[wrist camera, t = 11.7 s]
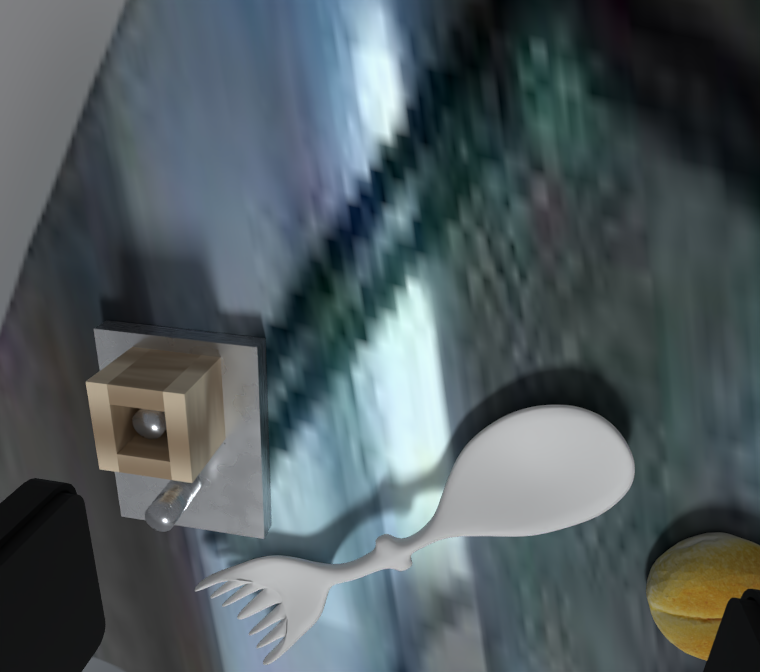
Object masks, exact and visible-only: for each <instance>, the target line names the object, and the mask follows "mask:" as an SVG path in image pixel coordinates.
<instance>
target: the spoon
mask: <svg viewBox="0 0 760 672" xmlns="http://www.w3.org/2000/svg"><path fill="white" fill-rule="evenodd" d="M634 474H635V464H634V459H633V455H632V452H631V450H630V448H629V446H628V444H627V442H626V441H625V439H624V437H623V436H622V435H621V433H620V432H619V431H618V430H617V429H616V428H615V426H614V425H612V424H611V423H610V422H609V421H608V420H607V419H605V418H604V417H602V416H600V415H599V414H597V413H594V412H592V411H590V410H587V409H584V408H581V407H576V406H570V405H540V406H534V407H529V408H525V409H521V410H518V411H515V412H513V413H510V414H508V415H506V416H504V417H502V418H500V419H498V420H497V421H495V422H493V423H492V424H490V425H489V426H487V427H486V428H484V429H483V430H482V431H480V432H479V433H478V434H477V435H476V436H474V437H473V438H472V439H471V440H470V441H469V442H468V444H467V445H466V446H465V447H464V448H463V450H462V451H461V453H460V454H459V456H458V458H457V460H456V461H455V463H454V465H453V468H452V470H451V472H450V475H449V477H448V480H447V482H446V485H445V488H444V491H443V493H442V496H441V499H440V502H439V505H438V508H437V510H436V512H435V514H434V516H433V517H432V519H431V520H430V521H429V522H428V523H427V524H426V525H425V526H424V527H423V528H422V529H421V530H420V531H418V532H417V533H415V534H413V535H411V536H409V537H407V538H402V539H401V538H396V537H394V536H392V535H389V534H383V535H381V536H379V537H378V538H377V539H376V547H375V549H374V550H373V551H371V552H370V553H368V554H366V555H365V556H363V557H361V558H359V559H356V560H354V561H351V562H347V563H341V564H327V563H320V562H314V561H310V560H306V559H301V558H296V557H291V556H282V555H272V556H264V557H260V558H255V559H252V560H249V561H246V562H243V563H241V564H238V565H235V566H233V567H230V568H227V569H224V570H221V571H219V572H217V573H214V574H212V575H210V576H208V577H206V578H205V579H204V580H202V581H201V582H200V583H199V584H198V585H197V586H196V588H195V591H199V590H202V589H205V588H207V587H210V586H212V585H214V584H217V583H220V582H224V581H227V582H226V583H225V584H224V585H222V586H221V587H220V588H219V589H217V590H216V591H215V592H214V593H213V594H212V595H211V597H210V598H214V597H217V596H219V595H221V594H223V593H225V592H227V591H230V590H232V589H234V588H236V587H239V586H241V585H244V584H245V585H244V586H243V587H242V588H240V589H239V590H238V591H237V592H235V593H234V594H233V595H232V596H231V597H229V598H228V599H227V600H226V601H225V602H224V603H223V605H222V606H223V607H224V606H227V605H229V604H231V603H233V602H235V601H237V600H239V599H241V598H243V597H245V596H247V595H249V594H251V593H253V592H255V591H258V590H260V589H263V590H262V591H261V592H260V593H259V594H258V595H257V596H256V597H254V598H253V599H252V600H251V601H250V602H249V603H248V604H247V605H246V606H245V607H244V608H243V609H242V610H241V612H240V613H239V614H238V619H244V618H247V617H249V616H251V615H253V614H255V613H257V612H259V611H261V610H263V609H266V608H268V607H270V606H272V605H274V604H277V603H279V604H278V605H277V606H276V607H275V608H274V609H273V610H272V611H271V612H270V613H269V614H268V615H267V616H266V617H265V618H263V619H262V620H261V621H260V622H259V623H258V624H257V625H256V626H255V627H254V628H253V629H252V630H251V631H250V633H249V635H253V634H255V633H257V632H259V631H261V630H263V629H265V628H266V627H268V626H270V625H272V624H273V623H275V622H277V621H279V620H281V621H280V623H279V624H278V625H277V626H276V627H275V628H274V629H273V630H272V631H270V632H269V633H268V634H267V635H266V636H265V637H264V638H263V639H262V640H261V641H260V642H259V643H258V645H257V648H260V647H263V646H265V645H267V644H269V643H271V642H273V641H275V640H277V639H279V638H281V637H284V636H285V637H284V638H283V639H282V641H281V642H280V643H279V644H278V645H277V646H276V647H275V648H274V649H273V650H272V651H271V652H270V653H269V654H268V655H267V656H266V657H265V659H264V661H263V664H264V665H268V664H270V663H272V662H274V661H275V660H276V659H278V658H279V657H280V656H281V655H283V654H284V653H285V652H286V651H287V650H288V649H289V648H290V647H291V646H292V645H293V644H295V643H296V642H297V641H298V640H299V639H300V638H301V637H302V636H303V635H304V634H305V633H306V632H307V631H308V630H309V629H310V628H311V627H312V626H313V625H314V624H315V623H316V622H317V620H318V619H319V617H320V616H321V614H322V612H323V609H324V606H325V603H326V599H327V595H328V592H329V590H330V588H331V587H332V586H333V585H335V584H338V583H343V582H347V581H351V580H355V579H358V578H361V577H363V576H366V575H368V574H371V573H373V572H376V571H379V570H382V569H395V570H398V571H404V570H407V569H409V568H410V567H411V566H412V560H411V555H412V553H414V552H415V551H417V550H419V549H421V548H423V547H425V546H427V545H429V544H431V543H433V542H436V541H439V540H442V539H445V538H450V537H459V536H531V535H538V534H543V533H548V532H552V531H556V530H560V529H563V528H567V527H570V526H573V525H576V524H579V523H582V522H585V521H588V520H590V519H592V518H595V517H597V516H599V515H600V514H602V513H604V512H605V511H607V510H608V509H610V508H611V507H613V506H614V505H615V504H616V503H617V502H618V501H620V500H621V499H622V498H623V497H624V495H625V494H626V493H627V492H628V490H629V489H630V487H631V485H632V483H633V479H634Z"/></svg>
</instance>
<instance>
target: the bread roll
mask: <svg viewBox="0 0 760 672" xmlns="http://www.w3.org/2000/svg"><path fill="white" fill-rule="evenodd" d="M747 589H758V590H760V545H758V544H756V543H754V542H751V541H749V540H746V539H743V538H740V537H738V536H735V535H731V534H728V533H723V532H716V533H705V534H701V535H697V536H693V537H690V538H687V539H685V540H682V541H680V542H678V543H677V544H676V545H674V546H673V547H671V548H670V549H668V550H667V551H666V552H665V553H664V554H662V555H661V556H660V557H659V558H658V559H657V560H656V561H655V563H654V564H653V565H652V568H651V570H650V573H649V577H648V579H647V587H646V594H647V600H648V603H649V607H650V611H651V614H652V616H653V619H654V621H655V623H656V624H657V626H658V628H659V629H660V631H661V632H662V633H663V634H664V636H665V637H666V638H667V639H668V640H669V641H670V642H671V643H673V644H674V645H675V646H677V647H678V648H679V649H681V650H682V651H684V652H685V653H687V654H690V655H692V656H695V657H697V658H700V659H704V660H708V657H709V654H710V651H711V648H712V645H713V642H714V639H715V637H716V634H717V631H718V628H719V625H720V622H721V619H722V617H723V614H724V611H725V608H726V605H727V603H728V601H729V600H730V599H731V598H741V596H742V594H743V593H744V591H746V590H747Z"/></svg>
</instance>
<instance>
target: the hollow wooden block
mask: <svg viewBox="0 0 760 672" xmlns="http://www.w3.org/2000/svg"><path fill="white" fill-rule="evenodd" d="M86 387H87V393H88V399H89V406H90V412H91V418H92V425H93V431H94V437H95V443H96V450H97V456H98V462H99V469H101V470H108V471H115V472H121V473H128V474H135V475H141V476H148V477H155V478H161V479H168V480H175V481H181V482H188V483H193V482H194V480H195V479H196V478H197V476H198V475H199V474H200V472H201V471H202V470H203V468H204V467H205V466H206V464H207V463H208V462H209V460H210V459H211V458H212V456H213V455H214V454H215V452H216V451H217V450H218V448H219V447H220V445H221V444H222V443H223V441H224V440H225V439H226V436H225V420H224V404H223V388H222V372H221V357H214V356H205V355H197V354H188V353H180V352H172V351H163V350H155V349H146V348H138V347H131V348H130V349H129V350H127V351H126V352H125V353H123V354H122V355H121V356H119V357H118V358H117V359H115V360H114V361H113V362H111V363H110V364H109V365H107V366H106V367H105V368H103V369H102V370H101V371H99V372H98V373H97V374H95V375H94V376H93V377H91V378H90V379H89V380H87V381H86ZM140 409H148V410H156V411H163V412H165V419H166V428H167V430H166V431H165V432H164V433H163V434H162V435H161V436H160V437H159V438H157V439H147V438H144V437H142V436H141V435H140V434H138V433H137V431H136V430H135V429H134V426H133V416H134V415H135V414H136V413H137V412H138V411H139V410H140Z"/></svg>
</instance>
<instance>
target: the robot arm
mask: <svg viewBox="0 0 760 672" xmlns="http://www.w3.org/2000/svg"><path fill="white" fill-rule="evenodd" d="M104 632H105V617H104V611H103V606H102V600H101V594H100V589H99V583H98V577H97V571H96V566H95V560H94V554H93V549H92V543H91V537H90V532H89V526H88V520H87V514H86V509H85V503H84V500H83V498H82V497H81V496H80V495H77V493H76V490H75V488H74V487H73V486H72V485H71V484H68V483H63V482H57V481H50V480H44V479H37V478H34V479H30V480H28V481H27V482H25V483H23V484H22V485H21V486H20V487H19V488H18V489H16V490H15V491H14V492H13V493H12V494H11V495H10V496H8V497H7V498H6V499H5V500H4V501H3V502H1V503H0V672H82V670H83V669H84V667H85V666H86V665H87V663H88V662H89V660H90V659H91V657H92V656H93V655H94V653H95V652H96V650H97V649H98V647H99V645H100V643H101V641H102V639H103V635H104ZM703 672H760V590H758V589H747V590H746V591H744V593H743V594H742V596H741V598H731V599H730V600H729V601H728V603H727V605H726V608H725V611H724V614H723V617H722V619H721V622H720V625H719V628H718V631H717V634H716V637H715V639H714V642H713V645H712V648H711V651H710V654H709V657H708V660H707V662H706V665H705V668H704V671H703Z"/></svg>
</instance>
